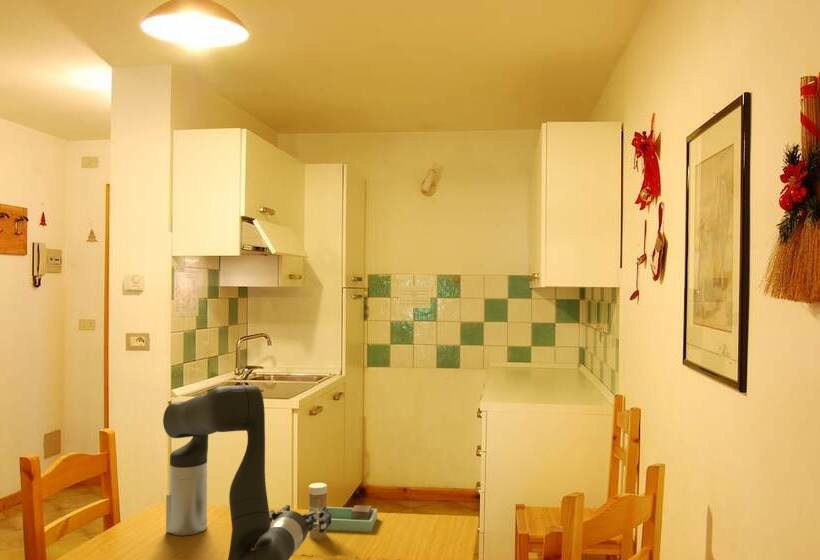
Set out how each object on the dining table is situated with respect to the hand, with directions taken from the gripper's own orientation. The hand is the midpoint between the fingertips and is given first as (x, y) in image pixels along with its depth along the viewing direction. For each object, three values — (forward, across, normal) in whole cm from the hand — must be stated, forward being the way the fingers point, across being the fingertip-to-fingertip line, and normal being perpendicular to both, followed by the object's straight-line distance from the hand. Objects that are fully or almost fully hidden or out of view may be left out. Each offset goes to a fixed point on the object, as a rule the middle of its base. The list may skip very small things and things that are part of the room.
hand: (306, 509), depth 147 cm
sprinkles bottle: (+12, 0, +11) cm, 16 cm away
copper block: (+21, -9, +10) cm, 25 cm away
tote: (+20, -5, +11) cm, 24 cm away
